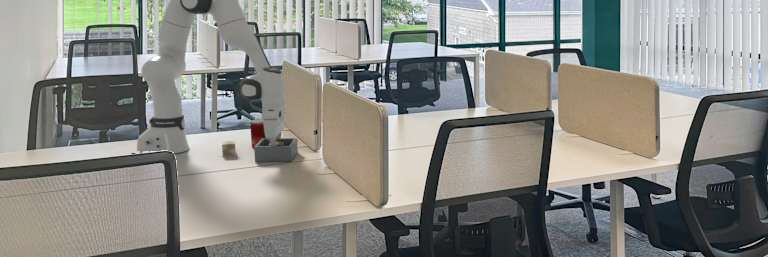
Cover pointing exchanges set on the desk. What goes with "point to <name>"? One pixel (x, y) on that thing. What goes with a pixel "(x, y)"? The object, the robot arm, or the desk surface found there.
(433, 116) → the desk surface
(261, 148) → the bin
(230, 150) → the oak block
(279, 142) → the walnut block
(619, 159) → the desk surface
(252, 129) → the canned food
